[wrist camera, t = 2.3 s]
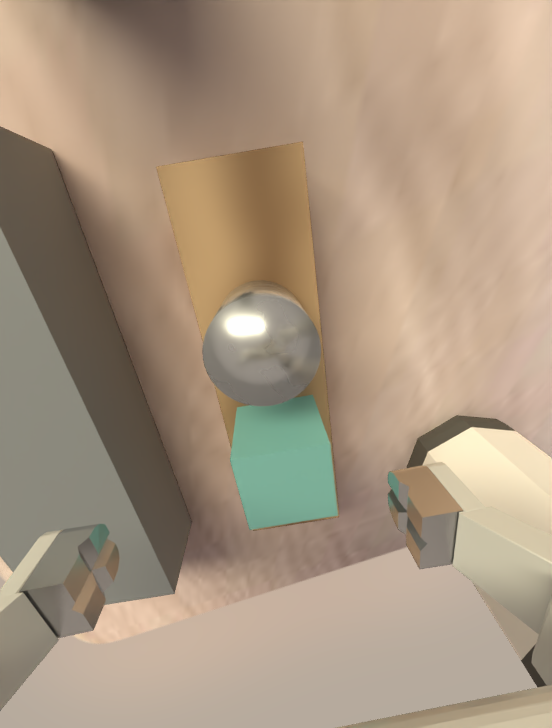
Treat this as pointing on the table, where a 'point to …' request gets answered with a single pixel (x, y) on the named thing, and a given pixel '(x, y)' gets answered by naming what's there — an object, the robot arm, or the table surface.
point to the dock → (73, 393)
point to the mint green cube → (283, 463)
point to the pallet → (246, 241)
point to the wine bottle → (496, 492)
